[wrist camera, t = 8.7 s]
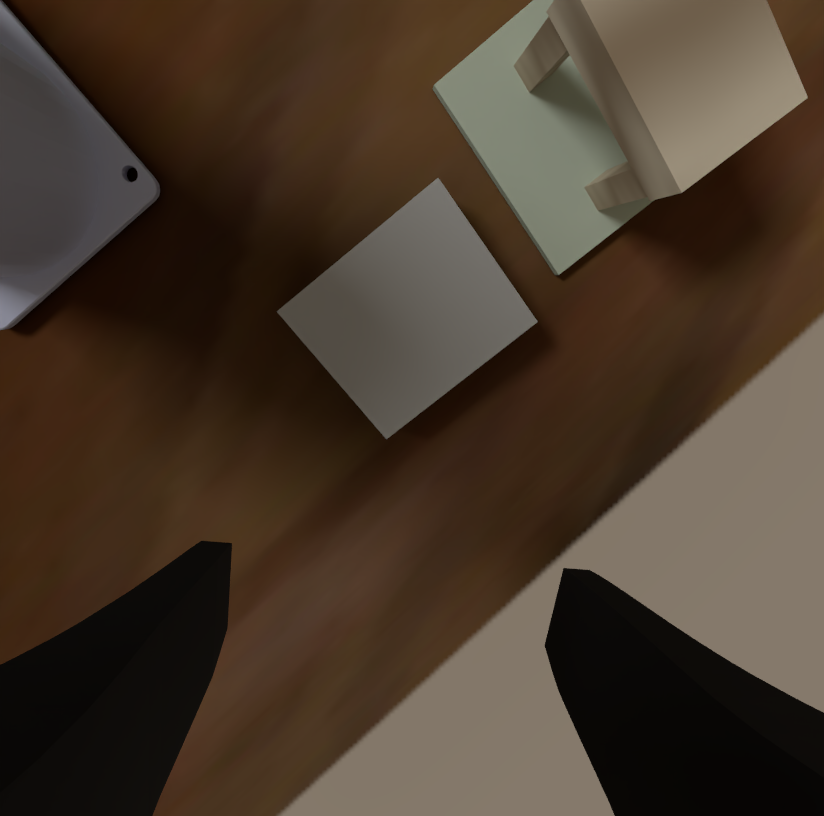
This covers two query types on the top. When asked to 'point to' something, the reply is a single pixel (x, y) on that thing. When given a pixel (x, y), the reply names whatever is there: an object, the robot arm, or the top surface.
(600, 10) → the beige toy stool
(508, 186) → the mat
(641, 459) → the top surface
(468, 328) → the step
